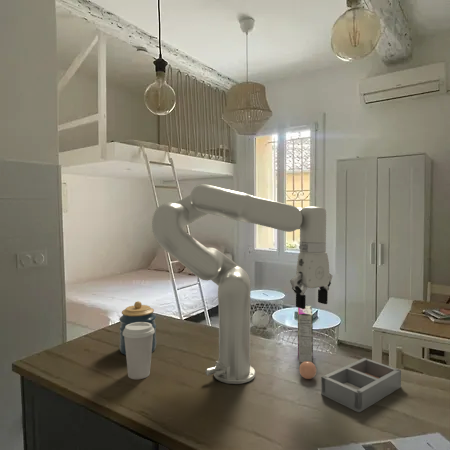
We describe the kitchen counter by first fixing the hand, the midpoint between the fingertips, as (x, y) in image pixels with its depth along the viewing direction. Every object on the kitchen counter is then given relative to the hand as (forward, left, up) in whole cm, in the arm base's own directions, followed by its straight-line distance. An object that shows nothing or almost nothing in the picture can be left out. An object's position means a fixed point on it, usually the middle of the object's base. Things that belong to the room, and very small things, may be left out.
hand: (311, 305), depth 104 cm
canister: (-32, +52, -22) cm, 65 cm away
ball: (-1, 0, -19) cm, 19 cm away
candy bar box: (+11, +11, -22) cm, 27 cm away
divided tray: (+5, -14, -22) cm, 26 cm away
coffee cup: (-40, +33, -22) cm, 57 cm away
